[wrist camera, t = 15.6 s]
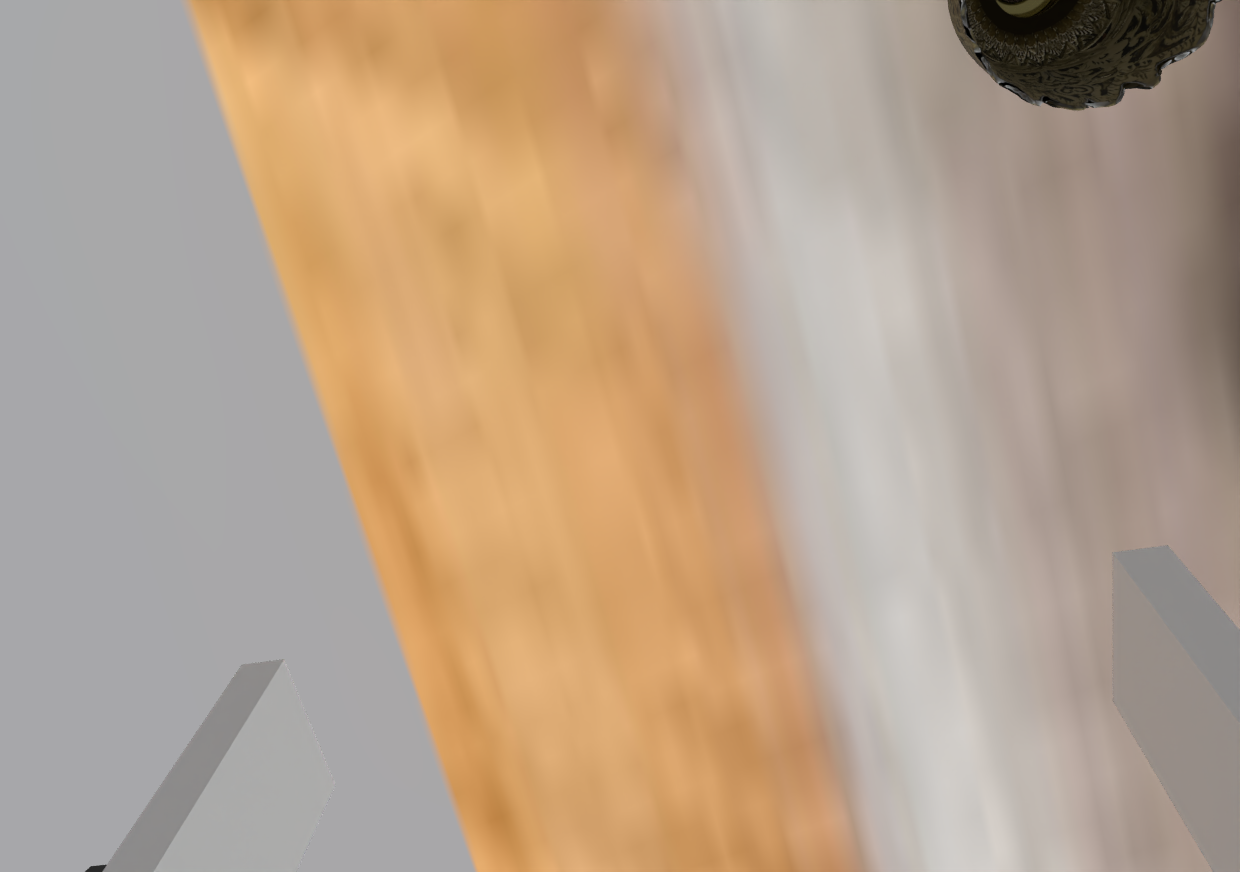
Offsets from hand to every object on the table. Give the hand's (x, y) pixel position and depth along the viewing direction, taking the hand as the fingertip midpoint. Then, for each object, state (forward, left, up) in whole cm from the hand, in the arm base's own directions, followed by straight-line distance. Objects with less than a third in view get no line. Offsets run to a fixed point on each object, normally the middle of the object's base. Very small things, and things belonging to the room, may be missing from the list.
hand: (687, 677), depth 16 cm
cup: (-13, -8, -27) cm, 31 cm away
